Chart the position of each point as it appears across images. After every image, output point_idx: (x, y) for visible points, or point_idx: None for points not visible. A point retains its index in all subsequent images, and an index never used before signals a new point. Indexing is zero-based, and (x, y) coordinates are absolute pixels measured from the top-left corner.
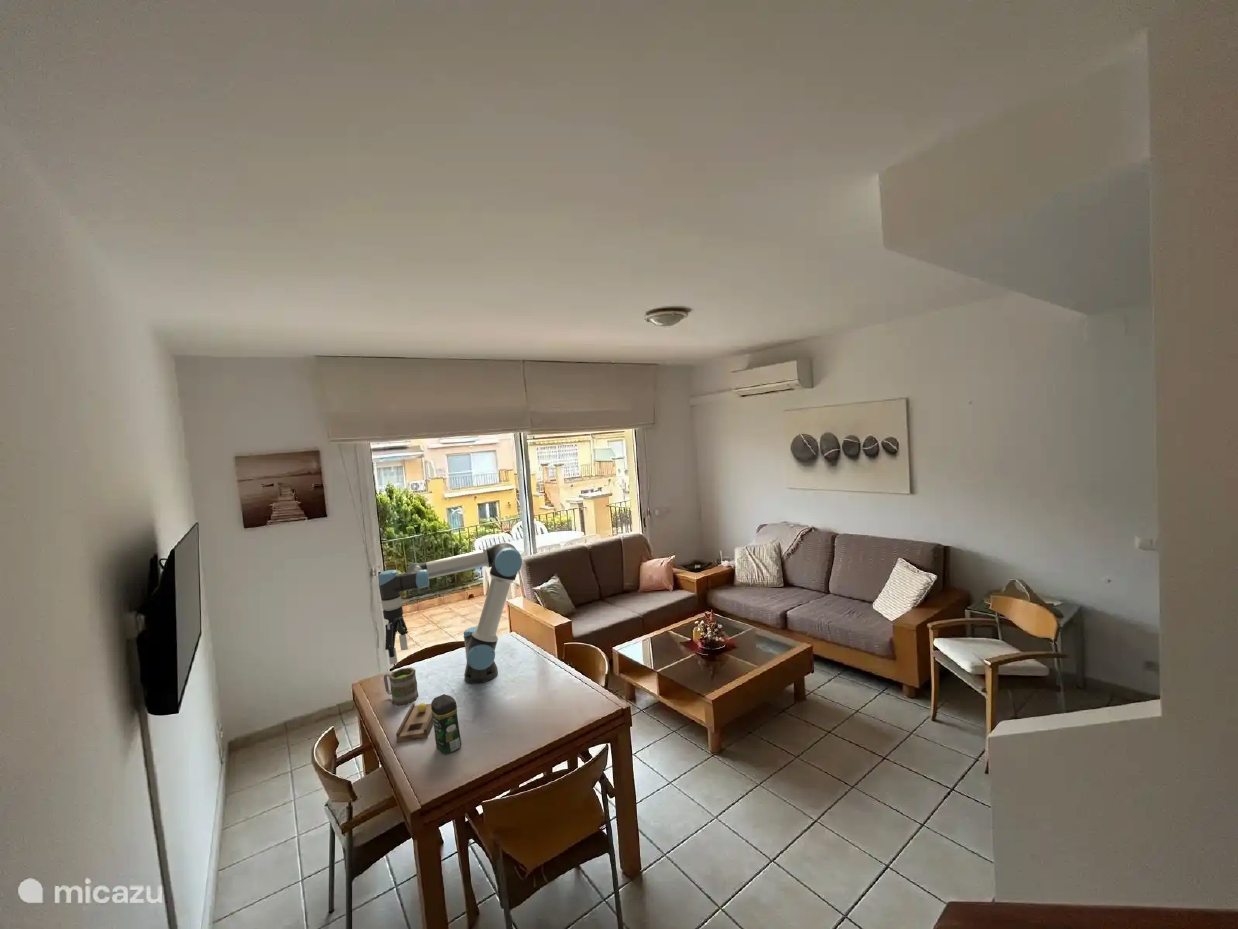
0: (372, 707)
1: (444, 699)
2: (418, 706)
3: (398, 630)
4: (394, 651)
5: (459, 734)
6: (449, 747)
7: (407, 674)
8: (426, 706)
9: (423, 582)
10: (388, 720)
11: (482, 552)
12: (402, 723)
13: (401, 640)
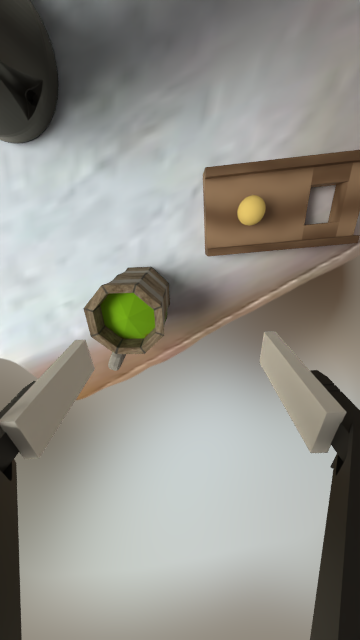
0: (166, 351)
1: None
2: (261, 217)
3: (12, 544)
4: (322, 392)
5: None
6: None
7: (106, 310)
8: (248, 196)
9: None
10: (228, 299)
11: None
12: (310, 244)
13: (59, 409)
